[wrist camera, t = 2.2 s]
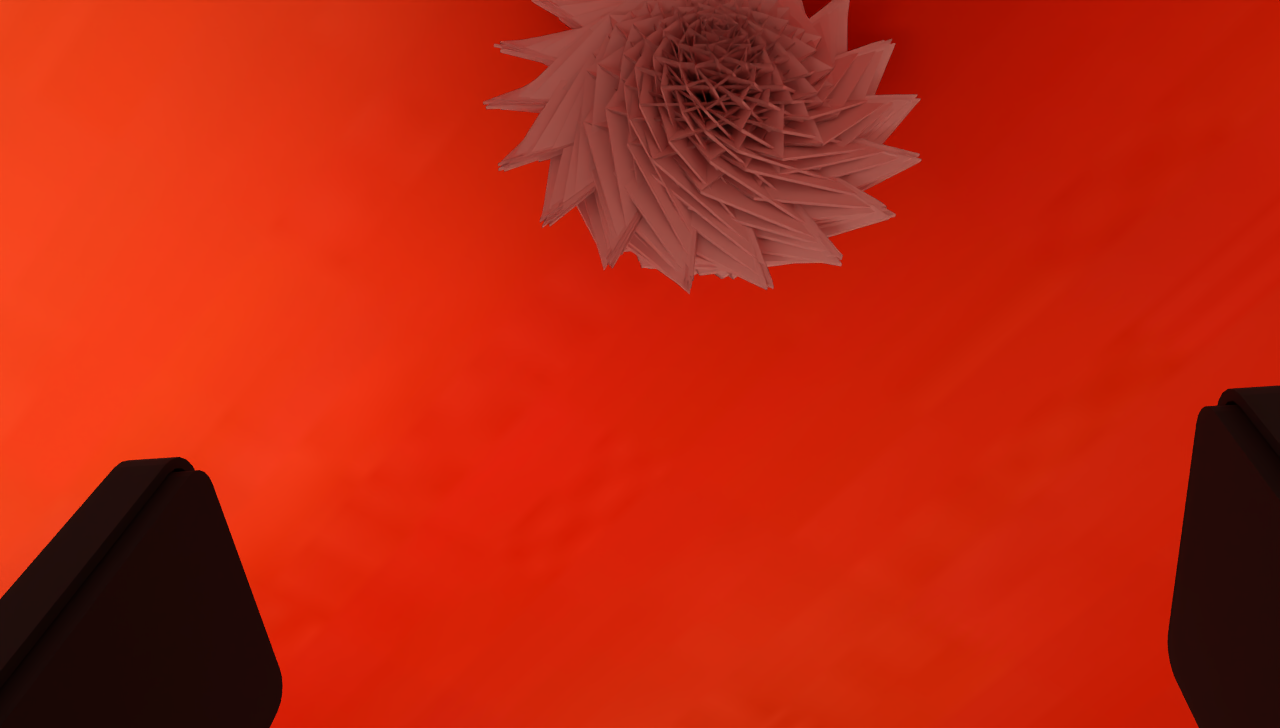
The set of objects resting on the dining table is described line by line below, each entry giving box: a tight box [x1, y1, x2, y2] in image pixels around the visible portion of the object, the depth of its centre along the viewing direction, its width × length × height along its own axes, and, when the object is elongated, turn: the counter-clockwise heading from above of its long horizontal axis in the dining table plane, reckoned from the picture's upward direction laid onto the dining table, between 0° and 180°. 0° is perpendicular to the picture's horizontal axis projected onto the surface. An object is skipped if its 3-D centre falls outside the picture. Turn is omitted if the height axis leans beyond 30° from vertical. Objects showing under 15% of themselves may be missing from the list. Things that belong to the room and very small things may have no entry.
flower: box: [483, 0, 922, 294], centre depth 21 cm, size 8×8×6 cm
